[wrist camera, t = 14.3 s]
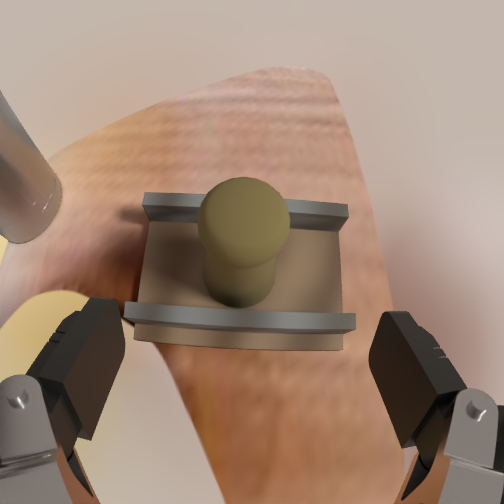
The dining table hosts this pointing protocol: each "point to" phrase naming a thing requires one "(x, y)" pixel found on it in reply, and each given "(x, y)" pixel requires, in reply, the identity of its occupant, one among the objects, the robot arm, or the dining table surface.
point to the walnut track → (250, 318)
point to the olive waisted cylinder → (242, 240)
